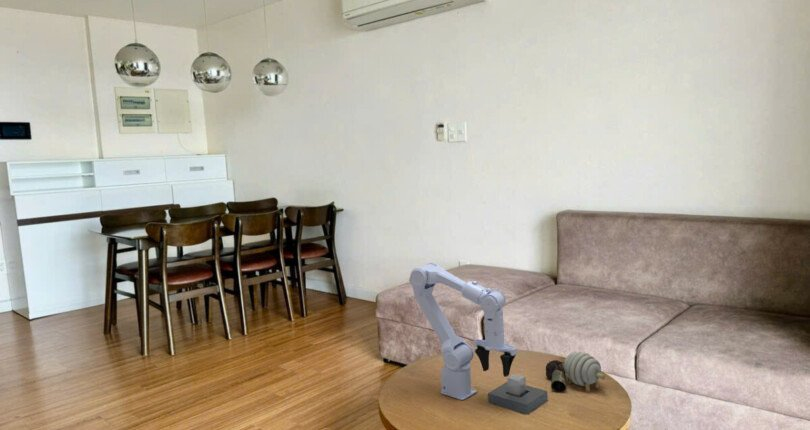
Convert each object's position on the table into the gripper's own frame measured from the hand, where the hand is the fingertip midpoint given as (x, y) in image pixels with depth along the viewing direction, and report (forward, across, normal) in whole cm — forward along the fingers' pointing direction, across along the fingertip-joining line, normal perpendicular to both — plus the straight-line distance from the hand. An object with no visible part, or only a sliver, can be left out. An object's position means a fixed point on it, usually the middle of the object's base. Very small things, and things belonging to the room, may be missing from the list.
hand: (496, 372), depth 175 cm
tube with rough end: (+10, +7, +24) cm, 27 cm away
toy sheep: (+10, +16, +26) cm, 32 cm away
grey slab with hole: (+9, +5, +4) cm, 11 cm away
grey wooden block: (+9, +5, +4) cm, 11 cm away
